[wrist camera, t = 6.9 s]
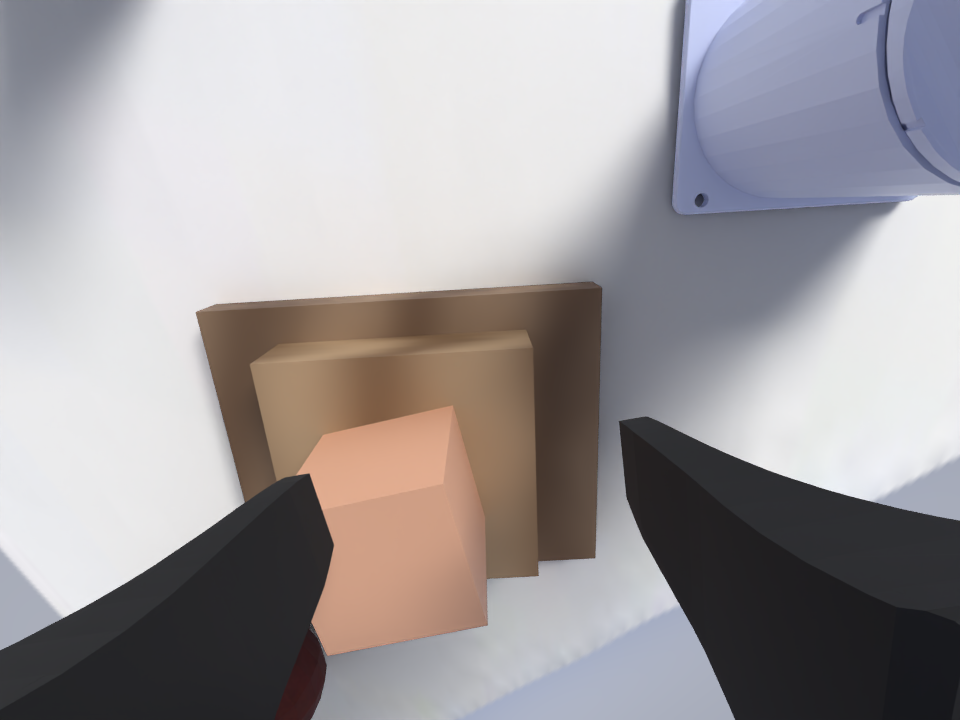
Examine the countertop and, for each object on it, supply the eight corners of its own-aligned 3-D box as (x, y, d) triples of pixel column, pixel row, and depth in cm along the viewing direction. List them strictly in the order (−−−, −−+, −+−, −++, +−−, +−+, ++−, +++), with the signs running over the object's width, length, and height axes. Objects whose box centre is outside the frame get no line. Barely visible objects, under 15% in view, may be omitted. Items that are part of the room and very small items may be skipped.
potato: (189, 569, 24) (80, 707, 18) (339, 574, 24) (286, 714, 18) (209, 672, 27) (119, 829, 20) (345, 676, 27) (300, 833, 20)
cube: (452, 405, 17) (443, 483, 12) (485, 516, 18) (487, 625, 14) (322, 434, 17) (264, 522, 13) (365, 542, 19) (327, 655, 14)
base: (593, 281, 19) (620, 300, 16) (588, 537, 24) (609, 600, 20) (215, 304, 20) (153, 328, 16) (276, 553, 24) (238, 618, 20)
